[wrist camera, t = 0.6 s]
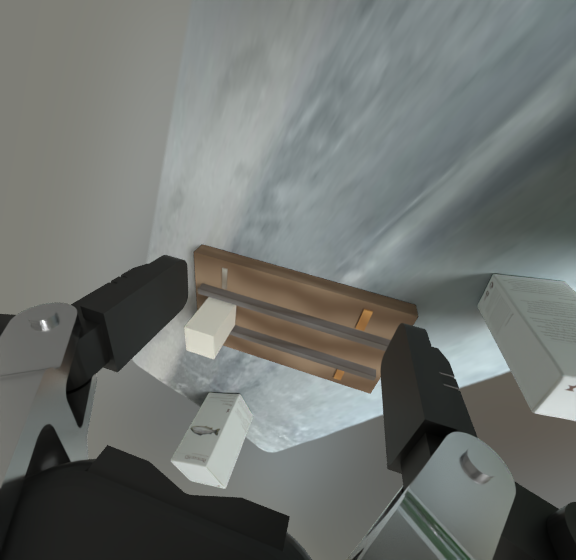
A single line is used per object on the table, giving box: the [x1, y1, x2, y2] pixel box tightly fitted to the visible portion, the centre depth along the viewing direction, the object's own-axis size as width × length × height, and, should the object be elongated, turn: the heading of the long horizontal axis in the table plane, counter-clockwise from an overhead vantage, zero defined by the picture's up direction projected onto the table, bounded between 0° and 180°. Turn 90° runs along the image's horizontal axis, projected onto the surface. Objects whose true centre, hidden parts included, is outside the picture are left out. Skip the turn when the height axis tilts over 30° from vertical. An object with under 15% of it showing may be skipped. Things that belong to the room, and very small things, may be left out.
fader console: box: [194, 245, 418, 393], centre depth 34 cm, size 15×26×3 cm, turn 81°
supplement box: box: [171, 392, 253, 489], centre depth 48 cm, size 7×7×13 cm
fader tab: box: [184, 297, 236, 359], centre depth 33 cm, size 4×4×6 cm
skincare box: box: [478, 274, 576, 421], centre depth 21 cm, size 6×4×12 cm
